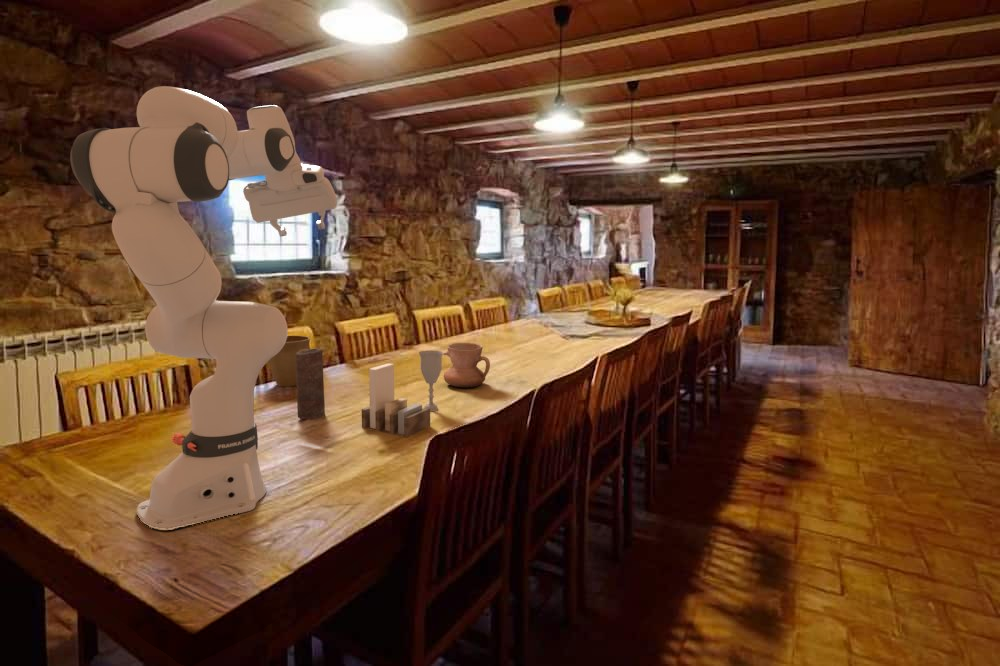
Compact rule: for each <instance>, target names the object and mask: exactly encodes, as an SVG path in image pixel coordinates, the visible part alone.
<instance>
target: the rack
mask: <svg viewBox="0 0 1000 666" xmlns="http://www.w3.org/2000/svg"><path fill="white" fill-rule="evenodd" d="M424 408H425V407H424ZM424 408H422V410H420V411H418V412H416V413H413V414H411V415H409V416H407V417H404V435H403V434H398V411H397V412H395V413H393V414H390V431H388V430H385V408H384V409H382V410H379V411H377V412H375V419H376V429H374V428H370V405H368V406H367V407H364V408H361V428H362V429H368V430H371V431H376V432H381V433H384V434H385V433H387V434H391V435H395V436H400V437H405V438H410V437H412V436H414V435H416V434H418V433H420V432H422V431H424V430H427V428H430V427H431V411H430V408H425V409H424Z"/></svg>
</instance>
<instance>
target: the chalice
mask: <svg viewBox="0 0 1000 666" xmlns="http://www.w3.org/2000/svg"><path fill="white" fill-rule="evenodd" d="M443 352H444V351H441V350H432V349H431V350H421V351H419V352H418V354H419V357H420V371H421V375H422V376H423V377H422V378H423V379H424V381H425V383H426V384H428V386H429V388H428V392H429V394H428V396H427V397H428V398H429V399H428V400H429V402H428V403H427V404H425V406H424V408H423V409H425V408H430V412H437V411H438V410H439V408H438V405H437V404H436V403H434V402H433V399H434V398H435V395H434V394H433V393H434V391H435V390H434V387H433V386H434V384H437V382H438V379H439V377H440V374H441V372H442V370H443V369H442V368H443V366H442V362H443V361H442V359H443V356H444V355H443Z"/></svg>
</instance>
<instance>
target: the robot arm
mask: <svg viewBox="0 0 1000 666" xmlns="http://www.w3.org/2000/svg"><path fill="white" fill-rule="evenodd" d="M246 117H247V122H248V127H249V128H248V129H244V130H238V126H237V123H236V120H235V119H234V117H233V115H232V114H231V113H230V112H229V110H228V109H227V108H226V107H224V106H223V105H222V104H221V103H219V102H217V101H215V100H214V99H212V98H209V97H208V96H205V95H203V94H201V93H198V92H195V91H192V90H189V89H185V88H181V87H175V86H166V85H163V86H157V87H152V88H150V89H149V90H147V91H146V92H145V93H144V94H143V95H142V96H141V97H140V99H139V100H138V104H137V106H136V118H137V123H138V126H137V127H135V126H134V127H121V128H113V129H111V128H107V127H102V128H96V129H91V130H88V131H85V132H82V133H80V134H79V135H77V137H76V138H75V139H74V141H73V143H72V146H71V149H70V155H69V156H70V157H69V158H70V159H69V160H70V161H69V162H70V166H71V169H72V172H73V175H74V176H75V178H76V180H77V181H78V183H79V184H80V185H81V187H82V188H83V190H84V191H85V192H86V194H88V195H89V196H90V197H92V200H93V201H94V203H96V205H98V207H100V208H102V209H103V210H106V211H108V212H110V213H115V214H114V216H113V218H112V222H111V232H112V235H113V237H114V240H115V242H116V244H117V246H118V249H119V250H120V252H121V254H122V256H123V258H124V260H125V262H126V263H127V264H128V266H129V268H130V269H131V271H132V272H133V273H134V275H135V276H136V277H137V279H138V280H139V281H140V283H141V284H142V286H143V287H144V288H145V289H146V291H147V292H148V294H149V295H150V297H151V298H152V299H153V301H154V302H155V304H156V305H155V306H154V307H153V308H152V310H151V311H150V312H149V313H148V315H147V318H146V320H145V326H144V333H145V337H146V339H147V343H148V344H149V345H150V347H151V348H152V349H153V350H154V351H155V352H157V353H161V354H163V355H167V356H168V355H169V356H172V357H178V358H183V359H188V358H189V359H213V360H215V362H216V363H215V364H216V366H215V372H214V374H212V375H210V376H208V377H206V378H204V379H203V380H200V381H199V382H198V383H197V384H196V385H194V387H193V389H192V390H191V392H190V395H189V406H190V420H191V429H190V431H189V432H188V434H187V435H183V434H182V433H180V432H177V433H174V434H173V436H172V437H171V441H172V443H174V444H176V445H177V446H181V450H182V452H181V453H180V454H179V455H178V456H176V458H174V459H173V460H172V461H171V462H170V463H169V464H168V465H166V466H165V467H164V468H163V469H162V470H160V472H158V473H157V474H156V475H155V476H154V478H153V480H152V482H151V486H150V493H149V499H146V500H144V501H142V502H140V503H139V504H138V505H137V507H136V516H137V515H138V516H139V518H140V519H141V520H142V521H144V522H145V523H146V524H148V525H151V526H153V527H158V528H166V529H168V528H173V527H177V526H182V525H186V524H192V523H197V522H202V521H206V520H211V519H215V520H217V519H216V518H219V519H221V518H220V517H223V518H225V517H224V516H227V517H229V516H228V515H231V516H234V515H233V514H235V515H237V514H238V513H239V514H243V513H246V512H250V511H253V510H254V509H255V508H256V506H257V503H258V502H259V500H261V499H262V498H263V497H265V495H266V493H267V487H266V485H265V481H264V479H263V475H262V473H261V468H260V463H259V459H258V452H257V450H258V447H259V446H258V445H259V443H258V442H259V441H258V440H259V438H258V437H259V436H258V435H259V434H258V428H257V427H258V426H257V425H258V424H256V423H255V412H254V411H255V409H254V405H255V401H254V400H255V386H256V383H257V380H258V377H259V375H260V373H261V371H262V369H263V367H265V365H266V364H268V361H269V360H270V359H271V358H272V357H274V356H275V355H276V354H278V353H279V352H280V350H281V349H282V348H283V346H284V344H285V342H286V339H287V336H288V333H289V332H288V331H289V328H288V324H287V321H286V318H285V316H284V314H283V313H282V312H281V310H280V309H279V308H277V307H275V306H273V305H268V304H265V303H260V302H254V301H233V300H231V301H230V300H217V298H218V297H219V295H220V293H221V290H222V276H221V273H220V271H219V269H218V268H217V266H216V264H215V263H214V261H213V259H212V257H211V256H210V254H209V253H208V250H207V249H206V248H205V245H204V244H203V242H202V241H201V239H200V238H199V236H198V235H197V234H196V232H195V231H194V230H193V228H192V227H191V225H190V224H189V223H188V222H187V221H186V220H185V218H184V217H183V216H182V215H181V214H180V210H179V209H180V208H179V205H178V203H182V202H191V201H192V202H195V203H200V202H201V203H202V202H206V201H212V200H214V199H217V198H218V199H219V198H220V197H221V195H223V193H224V191H225V190H226V189H227V187H228V184H229V181H233V180H236V179H237V180H238V179H243V178H252V177H259V176H264V179H265V180H261V181H257V182H250V183H248V184H247V185H245V186H244V188H243V191H242V192H243V196H244V199H246V201H247V202H248V205H249V210H250V214H251V215H250V216H251V217H252V220H253V221H254V222H256V223H264V222H270V225H271V226H272V227H273V228H274V229H275V230H276V231H277V232H278V234H279V237H284V236H287V234H288V233H287V231H286V230H287V229H286V227H285V226H281V225H280V224H278V220H280V219H281V220H282V219H286V218H292V217H297V216H303V215H308V214H313V213H318V216H319V217H320V220H317V221H316V226H317V229H318V230H324V229H325V227H326V226H325V225H326V224H325V222H324V220H325V217H326V211H329V210H335V209H336V207H337V205H338V199H337V195H336V193H335V189H334V187H333V185H332V184H331V182H330V180H329V179H328V178H327V177H325V172H324V168H323V167H322V166H319V165H310V164H303V163H302V162H301V159H300V157H299V155H298V153H297V151H296V141H295V137H294V135H293V131H292V129H291V127H290V126H291V125H290V124H289V121H288V118H287V116H286V114H285V113H284V110H283V108H282V107H280V106H278V105H275V104H273V105H272V104H269V105H262V106H261V105H260V106H255V107H252V108H249V109H248V110H246ZM139 518H138V519H139ZM211 521H212V520H211ZM159 523H161V524H159Z"/></svg>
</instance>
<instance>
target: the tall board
mask: <svg viewBox="0 0 1000 666" xmlns="http://www.w3.org/2000/svg"><path fill="white" fill-rule="evenodd" d="M368 377H369V378H368V379H369V380H368V384H369V385H368V386H369V387H368V388H369V394H368V395H369V406H370V428H374V429H376V419H375V412H377V411H379V410H382V409H384V408H385V404H387V403H389V402H392V401H394V400H395V363H385V364H381V365H377V366H374V367H370V368H368Z"/></svg>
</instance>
